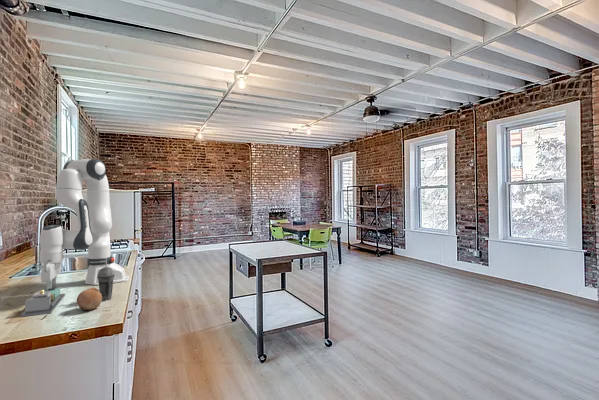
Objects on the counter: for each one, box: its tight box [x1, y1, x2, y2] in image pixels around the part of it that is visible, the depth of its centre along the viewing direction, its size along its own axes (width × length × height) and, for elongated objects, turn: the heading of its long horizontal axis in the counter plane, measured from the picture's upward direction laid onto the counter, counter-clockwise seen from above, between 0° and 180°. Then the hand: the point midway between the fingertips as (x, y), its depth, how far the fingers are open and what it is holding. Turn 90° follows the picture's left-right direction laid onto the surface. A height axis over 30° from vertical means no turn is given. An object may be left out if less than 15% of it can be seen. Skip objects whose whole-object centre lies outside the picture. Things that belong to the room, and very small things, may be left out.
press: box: [20, 293, 66, 318], centre depth 142 cm, size 10×26×6 cm, turn 26°
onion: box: [76, 287, 103, 311], centre depth 138 cm, size 10×9×10 cm
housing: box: [32, 289, 51, 298], centre depth 138 cm, size 5×5×7 cm
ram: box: [43, 279, 61, 300], centre depth 149 cm, size 6×11×8 cm, turn 26°
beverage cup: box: [97, 258, 115, 302], centre depth 151 cm, size 7×7×20 cm
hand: (51, 286), depth 152 cm, fingers open, 5 cm apart
